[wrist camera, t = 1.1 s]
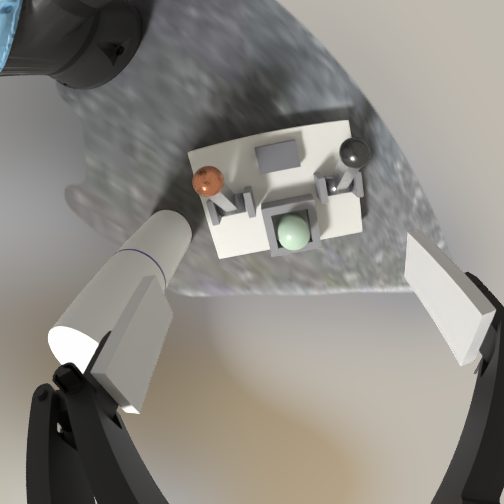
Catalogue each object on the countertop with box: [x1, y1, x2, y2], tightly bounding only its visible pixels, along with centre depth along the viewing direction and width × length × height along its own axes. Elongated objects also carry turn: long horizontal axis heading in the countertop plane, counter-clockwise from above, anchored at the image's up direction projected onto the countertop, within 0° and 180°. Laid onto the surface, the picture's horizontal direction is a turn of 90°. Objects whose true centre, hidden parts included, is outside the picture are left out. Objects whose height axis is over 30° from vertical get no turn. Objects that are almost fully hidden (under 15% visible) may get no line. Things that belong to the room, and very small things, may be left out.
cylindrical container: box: [48, 210, 192, 373], centre depth 29 cm, size 7×7×25 cm
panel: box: [188, 120, 364, 259], centre depth 34 cm, size 15×20×6 cm
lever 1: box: [192, 166, 247, 217], centre depth 29 cm, size 3×3×13 cm
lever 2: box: [325, 137, 370, 196], centre depth 27 cm, size 3×3×13 cm
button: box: [277, 213, 310, 250], centre depth 33 cm, size 4×4×3 cm
